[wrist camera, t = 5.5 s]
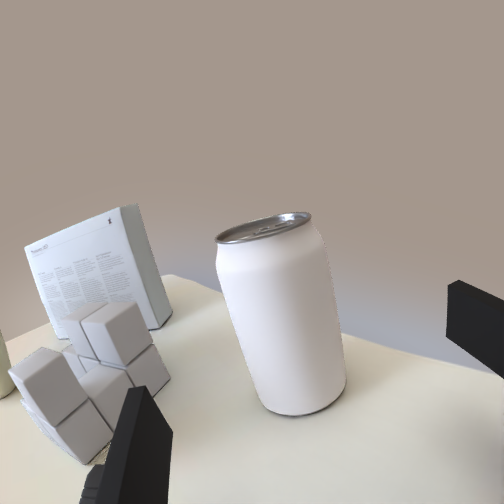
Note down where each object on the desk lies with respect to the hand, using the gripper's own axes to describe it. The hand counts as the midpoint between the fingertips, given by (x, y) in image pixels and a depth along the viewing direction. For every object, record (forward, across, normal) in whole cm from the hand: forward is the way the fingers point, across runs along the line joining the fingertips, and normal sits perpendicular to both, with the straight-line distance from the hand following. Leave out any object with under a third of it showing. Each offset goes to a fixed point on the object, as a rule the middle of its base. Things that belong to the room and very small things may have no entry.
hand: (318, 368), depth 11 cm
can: (+8, 0, -8) cm, 11 cm away
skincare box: (+30, -22, -8) cm, 39 cm away
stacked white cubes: (+12, -19, -8) cm, 23 cm away
